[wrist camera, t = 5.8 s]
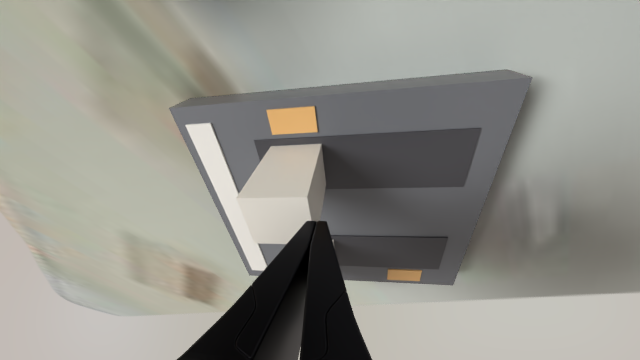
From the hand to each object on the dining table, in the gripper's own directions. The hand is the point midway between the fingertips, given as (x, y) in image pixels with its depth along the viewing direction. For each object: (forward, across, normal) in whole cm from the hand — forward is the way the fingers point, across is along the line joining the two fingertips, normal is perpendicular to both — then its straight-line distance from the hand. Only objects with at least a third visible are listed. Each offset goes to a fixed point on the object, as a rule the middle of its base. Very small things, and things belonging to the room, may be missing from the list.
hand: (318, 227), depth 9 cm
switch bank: (+7, 0, +4) cm, 8 cm away
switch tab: (+5, +2, 0) cm, 5 cm away
